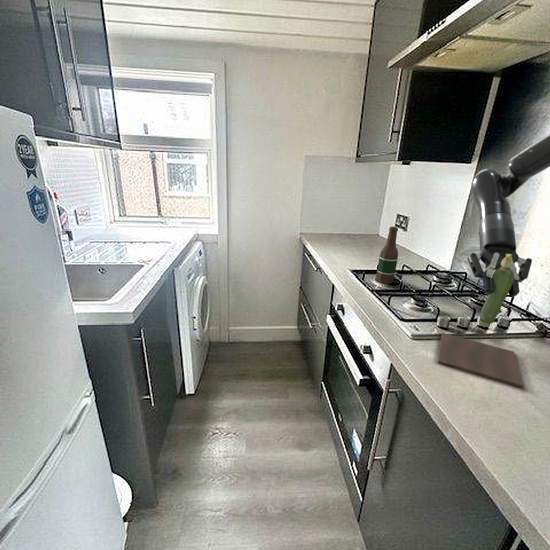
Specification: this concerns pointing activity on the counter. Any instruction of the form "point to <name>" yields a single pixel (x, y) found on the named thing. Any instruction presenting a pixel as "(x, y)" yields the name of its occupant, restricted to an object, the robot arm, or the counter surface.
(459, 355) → the board
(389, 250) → the beer bottle
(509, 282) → the vegetable
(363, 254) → the counter surface
